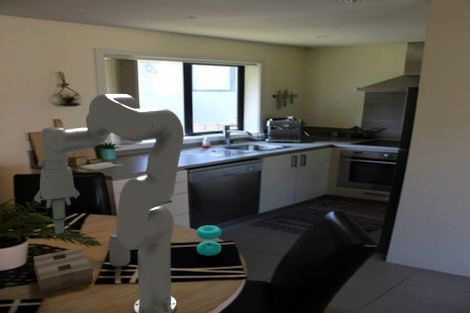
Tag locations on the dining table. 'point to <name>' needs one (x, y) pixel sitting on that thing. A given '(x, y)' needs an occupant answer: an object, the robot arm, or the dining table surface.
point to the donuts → (208, 246)
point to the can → (117, 252)
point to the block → (62, 270)
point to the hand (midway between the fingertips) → (58, 216)
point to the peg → (58, 214)
